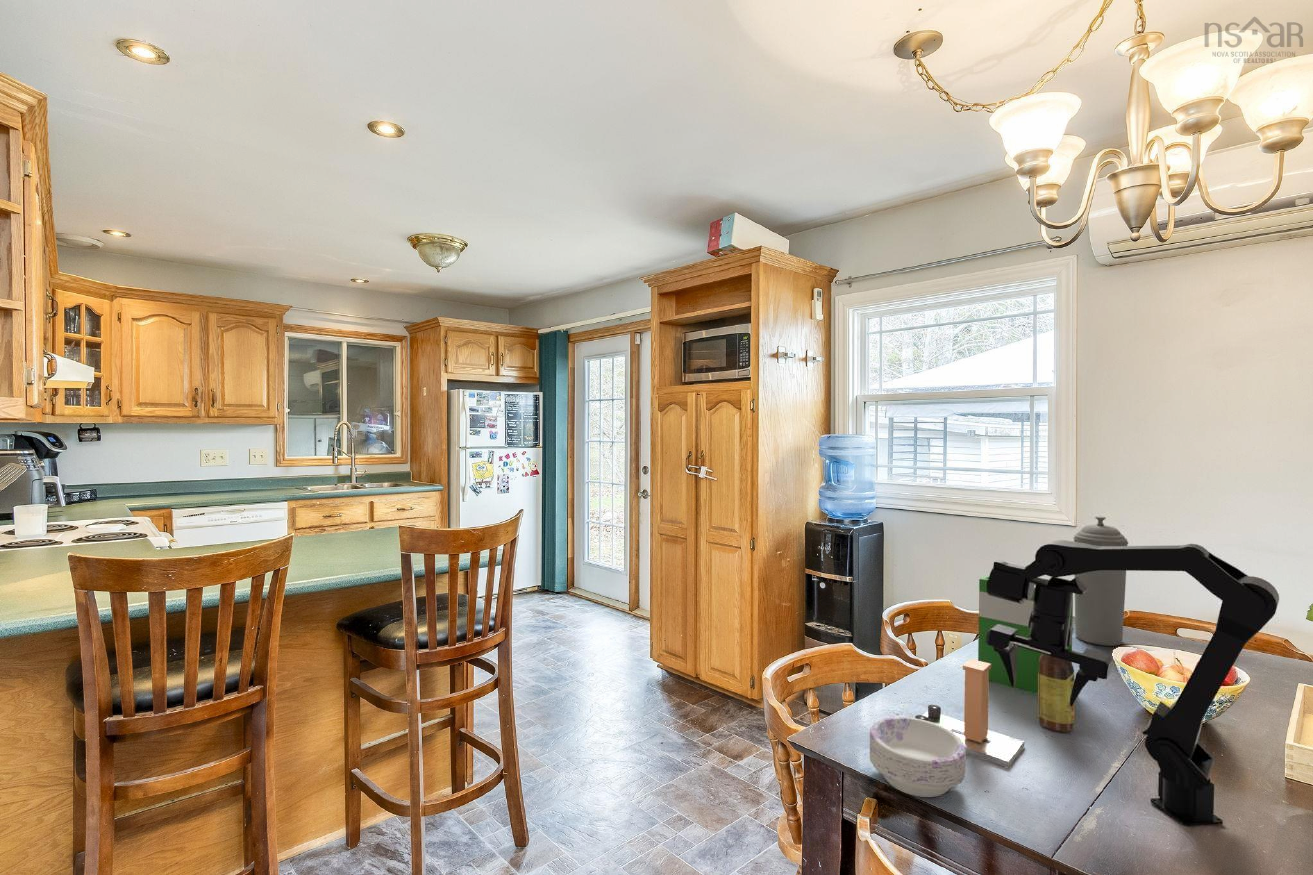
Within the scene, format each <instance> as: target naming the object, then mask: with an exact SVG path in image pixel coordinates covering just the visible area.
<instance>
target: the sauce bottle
mask: <svg viewBox="0 0 1313 875" xmlns="http://www.w3.org/2000/svg"><path fill="white" fill-rule="evenodd" d="M1074 680H1075V669H1074V666H1073V662H1070V661H1066V660H1063V659H1060V658H1056V657H1053V656H1049V655H1046V654H1042V655H1041V656H1040V658H1039V672H1038V694H1037V698H1038V699H1037V700H1038V701H1037V702H1038V704H1037V705H1038V706H1037V707H1038V709H1037V710H1038V714H1037V715H1038V717H1039V718H1038V721H1039V723H1040V725H1042V726H1043V727H1044V728H1045V729H1048V730H1051V731H1055V732H1060V733H1061V732H1062V733H1068V732H1071V731H1073V729H1074V725H1075V724H1074V723H1075V704H1074V705H1073V706H1070V697H1071V693H1072V689H1073V685H1074Z"/></svg>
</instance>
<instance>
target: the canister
mask: <svg viewBox="0 0 1313 875" xmlns="http://www.w3.org/2000/svg"><path fill="white" fill-rule="evenodd" d="M1094 519H1096V520H1097V523H1096V524H1087V525H1085V526H1084V527H1081V529H1080V530H1078V531H1077V533H1075V534H1074V536H1073V540H1074V541H1073V542H1081V543H1085V544H1090V545H1095V546H1129V541H1128V538H1126V537H1125V535H1123V534H1122V533H1121V532H1120V530H1118V528H1116V527H1113V526H1111V525H1105V524H1104V521H1105V520H1106V517H1105V516H1099V515H1098V516H1095V517H1094ZM1073 577H1074V578H1075V577H1078V578H1079V580H1080V581H1081V583H1083V584H1084V585H1085V586H1086V587H1087V588H1088V590H1087V591H1086V592H1085V593H1083V594H1082V595H1079V594H1075V593H1074V631H1075V632H1074V634H1075V637H1076V638H1077V639H1079V640H1081V641H1083V642H1087V643H1090V644H1092V645H1093V644H1094V645H1098V646H1105V647H1109V646H1110V647H1115V646H1120V645H1122V643H1123V636H1124V618H1125V615H1124V614H1125V603H1126V601H1125V600H1126V585H1127V584H1126V582H1127V581H1126V580H1127V571H1123V570H1099V571H1092V572H1087V573H1082V574H1076V575H1073ZM1074 578H1073V579H1074Z"/></svg>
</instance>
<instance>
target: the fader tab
mask: <svg viewBox="0 0 1313 875" xmlns="http://www.w3.org/2000/svg"><path fill="white" fill-rule="evenodd" d="M989 669H991V664H990V663H986V662H981V661H978V659H973V658H970V659H969V660H968V661H967V662H965V663H964V664H962V670H964V704H963V705H964V707H963V708H964V710H963V711H964V715H963V722H964V737H965V738H968V739H971V740H974V741H977V742H980V743H981V742H982V741H983V740H984V739H985V738H986V737H987V736H988V730H989V692H990V691H989V689H990V688H989V687H990V686H989V683H990V681H989Z"/></svg>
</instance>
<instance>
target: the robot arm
mask: <svg viewBox="0 0 1313 875" xmlns="http://www.w3.org/2000/svg"><path fill="white" fill-rule="evenodd" d="M1099 570H1123V571H1126V572H1127V571H1134V572H1135V571H1137V572H1138V571H1139V572H1140V571H1142V572H1143V571H1145V572H1151V571H1152V572H1154V571H1155V572H1185V573H1187V574H1188V575H1189V576H1191V577H1192V578H1193V579H1195V580H1196V581H1197V582H1199V584H1200V585H1202V586H1203V587H1204V588H1205V589H1206V590H1207V591H1209V593H1211V594H1212V595H1214V596H1215V597H1216V598H1217V599H1219V600H1220V601H1222V602H1221V604H1220V605H1221V606H1220V608H1219V609H1220V610H1219V613H1218V617H1217V621H1216V626H1215V631H1214V633H1213V635H1212V636H1211V638H1210V640H1209V642H1208V644H1207V646H1206V647H1205V649H1204V651H1203V653H1202V655H1201V656H1200V658H1199V660H1198V661H1197V663H1196V665H1195V668H1194V669H1193V671H1192V673H1191V674H1190V677H1189V678H1188V680H1187V682H1186V684H1185V686H1184V687H1183V689H1182V691H1181V692H1180V695H1179V696H1178V698H1177V699H1176V700H1175V702H1173V703H1172V704H1171V705H1170V706H1169V705H1167V704H1165V703H1164V702H1163V701H1159V703H1158V704H1157V707H1156V708H1155V709H1154V710H1153V713H1152V717H1151V718H1150V719H1149V720H1148V722H1147V724H1146V726H1145V727H1144V728H1143V731H1142V732H1141V733H1142V734H1143V735H1146V737H1145V739H1144V747H1145V749H1146V752H1147V753H1148V755H1150V756H1151V758H1152V759H1153V760H1154V761H1155V762H1156V763H1157V766H1158V768H1159V772H1158V778H1157V779H1158V780H1157V781H1158V785H1157V796H1158V797H1151V798H1150V804H1152V805H1154V806H1156V808H1159V809H1160V810H1161V811H1162V812H1165V813H1166V814H1167V815H1168V816H1170V817H1171V818H1172V819H1174V820H1175V821H1176V822H1178V823H1180V824H1181V825H1183V826H1185V827H1195V826H1196V827H1197V826H1213V825H1224V820H1223V819H1222V818H1220V817H1219V816H1217V815H1216V814H1215V812H1214V811H1215V784H1214V783H1213V782H1212V781H1211V778H1210V775H1211V772H1212V769H1213V766H1214V763H1215V758H1214V757H1213V756H1212V755H1211V754H1210V753H1209V752H1208V751H1207V750H1206V749H1205V748H1204V747H1203V746H1202V745H1201V744H1200V743H1199V738H1200V735H1201V729H1202V727H1203V721H1204V717H1205V715H1206V714H1207V712H1208V710H1209V708H1210V706H1211V705H1212V703H1213V701H1214V700H1215V697H1216V695H1217V694H1218V692H1219V691H1220V689H1221V687H1222V685H1223V683H1224V682H1225V680H1226V678H1227V677H1228V675H1229V673H1230V671H1231V670H1232V668H1233V665H1234V664H1235V662H1236V661H1237V659H1238V657H1239V655H1240V654H1241V652H1242V650H1243V649H1244V647H1245V645H1246V644H1247V643H1249V642H1250V640H1251V639H1253V638H1254V636H1256V635H1257V634H1258V633H1259V632H1260V631H1261V630H1262V629H1263V628H1264V627H1265V626H1266V625H1267V624H1268V623H1269V622H1270V621H1271V619H1272V618H1273V617H1274V616H1275V615H1276V612H1277V610H1278V609H1277V608H1278V605H1279V602H1280V594H1279V592H1278V591H1277V589H1276V587H1275V586H1274V585H1272V583H1270V582H1269V581H1267V580H1266V579H1264V578H1261V577H1258V576H1254V575H1253V576H1251V575H1248V574H1246V573H1245V572H1244V571H1242V570H1240V569H1239V568H1238V567H1236V566H1234V565H1233V564H1230V563H1228V562H1227V561H1225V560H1223V559H1221V558H1220V557H1218V556H1216V555H1214V554H1213V553H1212V552H1210V551H1208V549H1207V548H1205V547H1204V546H1202V545H1199V544H1197V543H1187V544H1182V545H1181V544H1180V545H1127V546H1095V545H1090V544H1085V543H1081V542H1074V541H1071V540H1066V539H1065V540H1064V539H1058V540H1053V541H1050V542H1048V543H1046V544H1044V545H1042V546H1040V547H1039V548H1038V549H1037V550H1036V552H1035V554H1034V560H1033V561H1032V562H1030V564H1027V565H1025V566H1021V565H1017V564H1013V563H1008V562H1007V561H1005V560H1000V559H998V560H996V561H994V562H993V566H992V568H991V571H990V572H989V574H990V576H989V579H988V580H987V593H988V595H990V596H993V597H997V598H1001V599H1005V600H1009V601H1012V602H1016V603H1020V604H1023V603H1024V602H1025V600H1031V598H1032V596H1033V593H1034V584H1036V585H1035V594H1034V603H1033V611H1032V612H1031V615H1030V618H1029V623H1028V627H1029V628H1031V629H1030V638H1025V637H1022V636H1018V629H1015V628H1011V627H1008V626H1004V625H1000V624H997V625H995V626H994V627H992V628H991V629H990V630H989V631H988V632H987V636H986V644H988V645H990V646H993V650H994V651H995V652H998V653H999V655H1000V657H1001V660H1002V662H1003V664H1004V666H1005V669H1006V671H1007V674H1008V677H1009V680H1010V683H1011V686H1012V687H1011V688H1013V687H1015V685H1016V678H1017V651H1018V647H1022V648H1025V649H1029V650H1032V651H1036V652H1039V653H1042V654H1046V655H1049V656H1053V657H1056V658H1060V659H1063V660H1066V661H1070V662H1072V664H1076V665H1077V664H1078V668H1079V669H1078V670H1077V671H1076V673H1075V675H1074V685H1073V689H1072V693H1071V697H1070V706H1073V705H1074V706H1075V703H1076V701H1077V699H1078V697H1079V696H1080V694H1081V692H1082V690H1083V689H1084V687H1085V686H1086V685H1087V684H1088V682H1089V681H1091V682H1098V680H1099V679H1101V680H1107V679H1108V677H1109V676H1110V674H1111V673H1112V671H1113V663H1114V662H1113V661H1114V660H1113V657H1112V656H1111V655H1110V654H1109V653H1105V652H1101V651H1098V650H1094V649H1090V648H1087V647H1086V648H1085V650H1084V651H1083V652H1078V651H1075V650H1073V649H1072V650H1068V649H1067V647H1069V646H1070V644H1071V640H1072V641H1073V634H1074V630H1075V627H1074V626H1073V627H1072V626H1070V615H1071V606H1072V598H1073V599H1074V595H1075V594H1079V595H1082V594H1083V593H1085V592H1086V591H1087V590H1088V588H1087V587H1086V586H1085V585H1084V584H1083V583H1081V581H1080V580H1079V578H1078V577H1075V578H1073V579H1071V580H1069V579H1067V578H1062V577H1069V576H1074V575H1076V574H1082V573H1087V572H1092V571H1099ZM1044 576H1047V577H1050V578H1049V579H1047V578H1042V577H1044Z"/></svg>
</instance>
